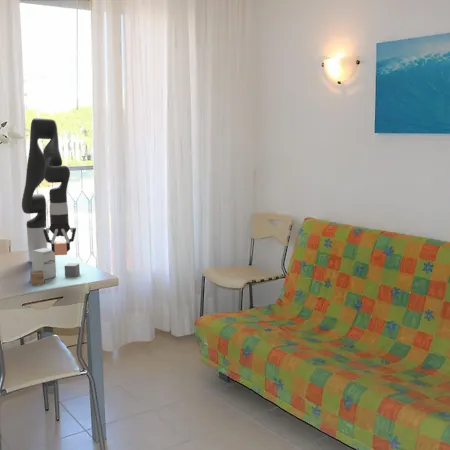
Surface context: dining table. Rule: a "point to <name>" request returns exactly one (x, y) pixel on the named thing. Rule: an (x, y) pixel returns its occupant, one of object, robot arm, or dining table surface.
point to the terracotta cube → (60, 248)
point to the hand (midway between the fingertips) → (60, 251)
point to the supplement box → (44, 262)
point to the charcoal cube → (72, 270)
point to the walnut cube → (36, 277)
